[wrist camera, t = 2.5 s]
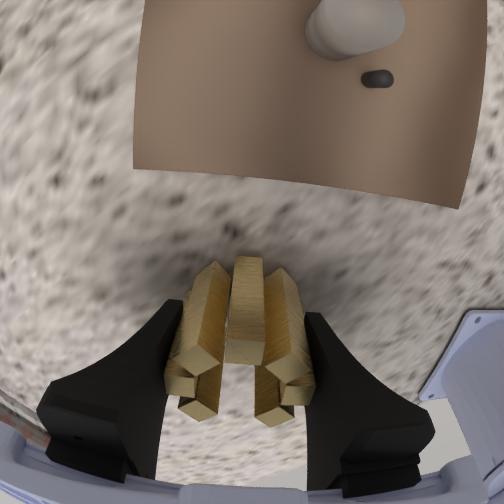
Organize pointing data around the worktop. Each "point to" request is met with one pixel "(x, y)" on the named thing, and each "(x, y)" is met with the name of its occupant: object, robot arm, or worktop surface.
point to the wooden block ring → (242, 342)
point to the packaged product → (23, 420)
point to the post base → (314, 92)
